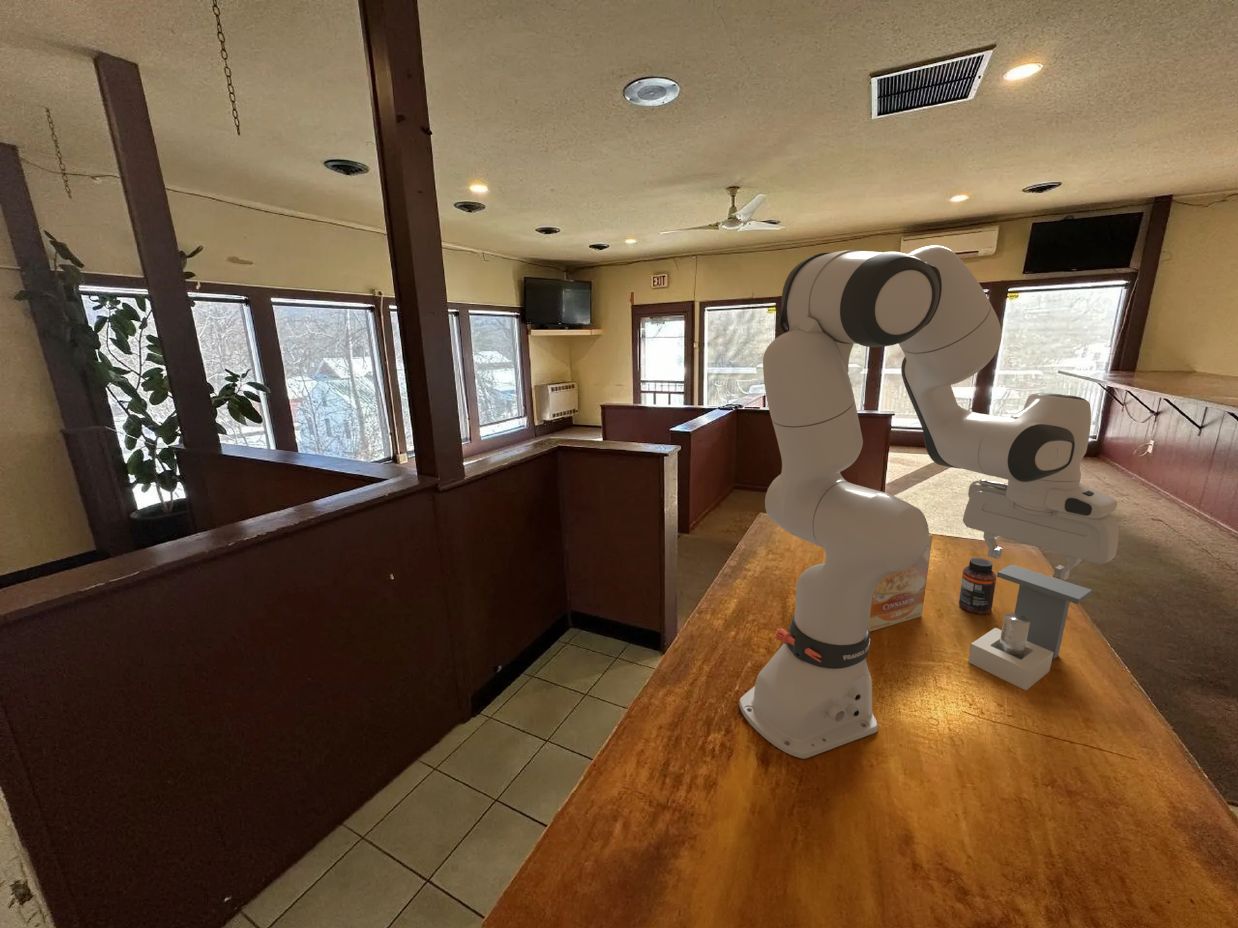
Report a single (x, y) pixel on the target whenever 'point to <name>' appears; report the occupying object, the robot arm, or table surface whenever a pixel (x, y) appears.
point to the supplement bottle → (977, 586)
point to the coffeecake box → (900, 594)
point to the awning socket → (1030, 627)
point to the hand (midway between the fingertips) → (1025, 566)
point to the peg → (1014, 634)
